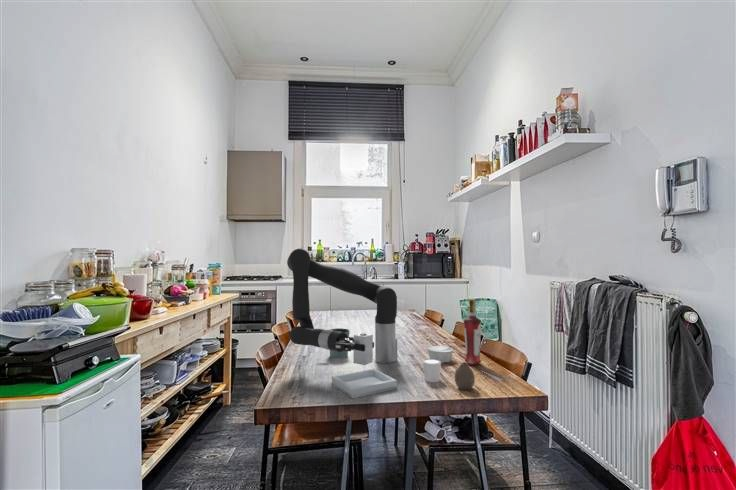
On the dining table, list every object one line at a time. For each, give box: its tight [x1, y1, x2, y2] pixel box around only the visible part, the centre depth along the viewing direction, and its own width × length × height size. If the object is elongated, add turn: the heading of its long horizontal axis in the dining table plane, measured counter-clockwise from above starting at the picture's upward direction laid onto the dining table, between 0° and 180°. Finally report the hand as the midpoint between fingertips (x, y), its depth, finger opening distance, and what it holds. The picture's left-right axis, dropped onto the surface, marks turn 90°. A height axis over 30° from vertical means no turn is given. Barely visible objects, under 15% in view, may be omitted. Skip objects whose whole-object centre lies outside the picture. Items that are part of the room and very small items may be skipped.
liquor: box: [463, 298, 482, 366], centre depth 162 cm, size 7×7×28 cm
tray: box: [331, 368, 398, 399], centre depth 134 cm, size 18×16×3 cm
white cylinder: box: [422, 358, 442, 383], centre depth 141 cm, size 7×7×7 cm
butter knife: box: [481, 370, 503, 382], centre depth 153 cm, size 1×27×3 cm
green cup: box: [329, 328, 350, 359], centre depth 177 cm, size 10×10×12 cm
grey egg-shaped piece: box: [454, 362, 476, 391], centre depth 132 cm, size 7×7×9 cm
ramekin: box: [427, 345, 454, 364], centre depth 168 cm, size 11×11×5 cm
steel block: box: [352, 332, 374, 366], centre depth 134 cm, size 5×5×10 cm
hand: (369, 346), depth 133 cm, fingers closed on steel block, 5 cm apart
